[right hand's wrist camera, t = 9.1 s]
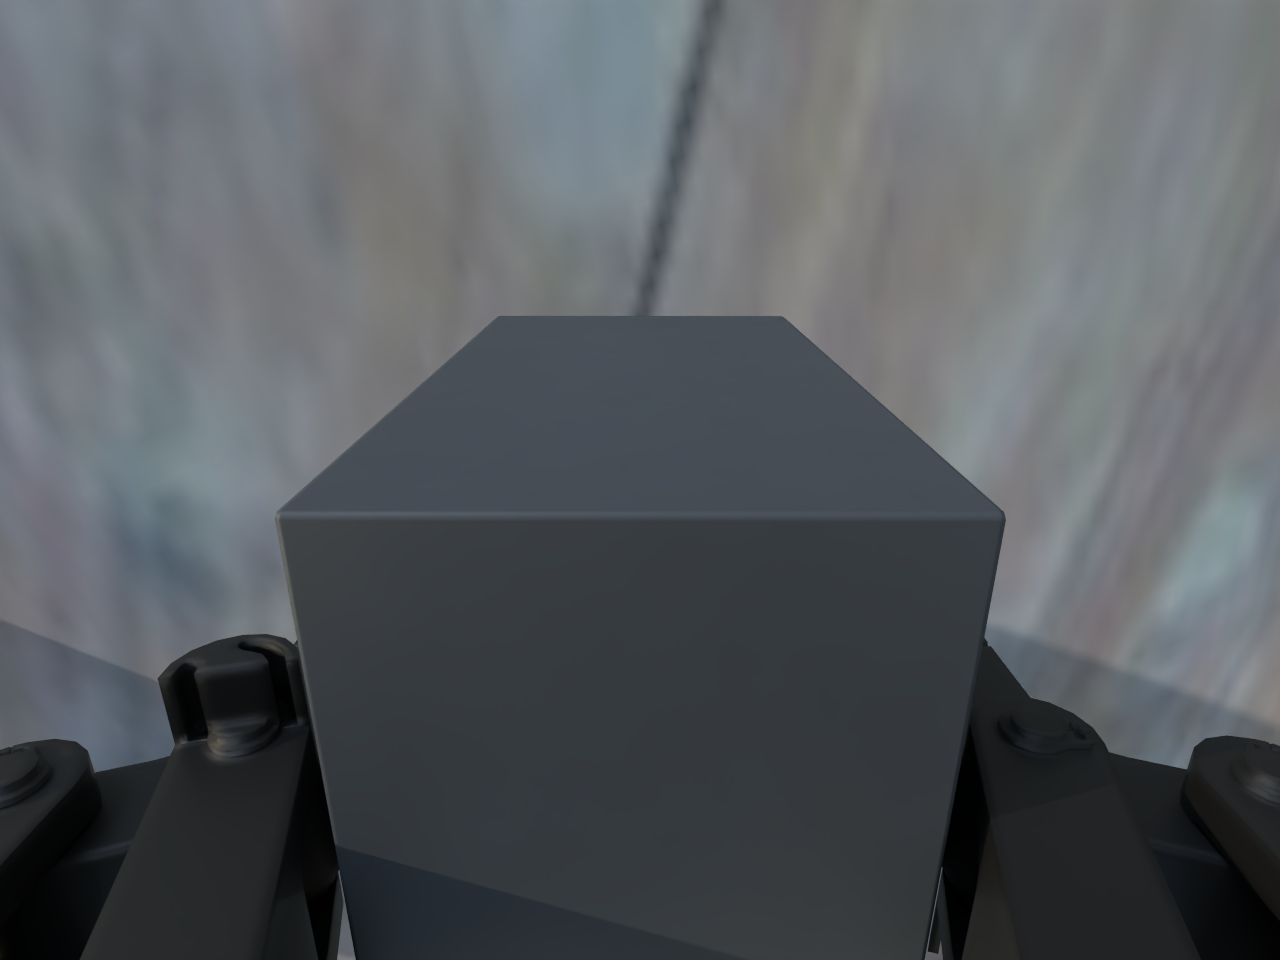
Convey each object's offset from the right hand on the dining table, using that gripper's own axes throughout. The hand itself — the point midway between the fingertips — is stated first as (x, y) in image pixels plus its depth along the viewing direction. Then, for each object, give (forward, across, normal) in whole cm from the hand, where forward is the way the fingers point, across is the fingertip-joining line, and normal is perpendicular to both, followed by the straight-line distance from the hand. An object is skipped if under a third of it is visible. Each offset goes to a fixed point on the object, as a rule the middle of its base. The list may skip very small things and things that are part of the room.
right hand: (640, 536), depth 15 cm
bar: (+1, 0, -8) cm, 8 cm away
